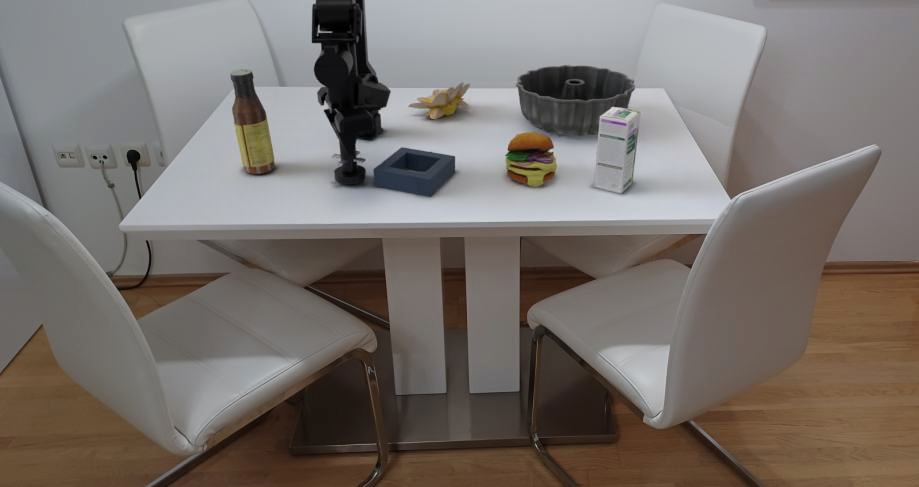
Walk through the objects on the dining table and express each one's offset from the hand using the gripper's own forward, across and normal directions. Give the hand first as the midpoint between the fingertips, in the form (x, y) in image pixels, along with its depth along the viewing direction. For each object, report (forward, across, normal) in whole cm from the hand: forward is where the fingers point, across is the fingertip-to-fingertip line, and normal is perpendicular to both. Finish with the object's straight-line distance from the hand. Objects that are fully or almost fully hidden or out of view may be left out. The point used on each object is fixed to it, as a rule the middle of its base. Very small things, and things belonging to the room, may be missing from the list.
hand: (348, 151), depth 135 cm
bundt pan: (+7, +11, -55) cm, 57 cm away
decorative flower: (+7, +29, -30) cm, 42 cm away
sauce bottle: (+7, +13, +16) cm, 21 cm away
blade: (+6, 0, 0) cm, 6 cm away
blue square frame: (+6, -4, -12) cm, 14 cm away
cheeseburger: (+6, -11, -33) cm, 35 cm away
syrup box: (+6, -20, -46) cm, 51 cm away
